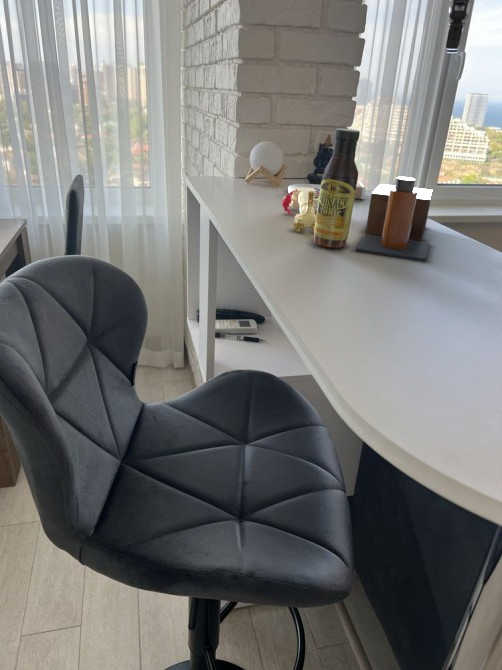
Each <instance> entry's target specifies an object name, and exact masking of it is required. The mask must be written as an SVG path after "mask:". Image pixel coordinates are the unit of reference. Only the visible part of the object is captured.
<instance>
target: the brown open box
mask: <svg viewBox="0 0 502 670" xmlns="http://www.w3.org/2000/svg"><path fill="white" fill-rule="evenodd" d="M391 188H395V185H392V184H381V183H380V184H379V185H377V186H376V188H374V190H373V191H372V192H371V194H370V200H369V207H368V213H367V220H366V227H365V234H368V235H375V236H382V233H383V227H384V221H385V215H386V209H387V204H388V198H389V192H390V189H391ZM414 190H416V191H418V194H417V200H416V205H415V210H414V215H413V220H412V226H411V231H410V236H409V240H411V241H418V242H423V237H424V232H425V229H426V225H427V221H428V217H429V211H430V206H431V202H432V197H433V191H434V190H433V189H427V188H418V187H414Z"/></svg>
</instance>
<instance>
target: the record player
mask: <svg viewBox="0 0 502 670" xmlns="http://www.w3.org/2000/svg"><path fill="white" fill-rule="evenodd" d="M295 187H307V188H314V190H317V192H316V195H315V198H319V194H318V192H319V193H320V189H321V184H315V183H295V184H290V185H288V188H287V189H288V190H287V192H288V194H290V192H292V191H293V188H295ZM365 196H366V186H365V185H364V184H363V183H362V182H361V181H357V185H356V194H355V199H354V200H364V199H365Z"/></svg>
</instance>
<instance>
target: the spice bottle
mask: <svg viewBox="0 0 502 670" xmlns="http://www.w3.org/2000/svg"><path fill="white" fill-rule="evenodd" d="M415 184H416V179H415V178H413V177H408V176H407V177H406V176H398V177H396V179H395V184H394V186H395V188H391V189H390V192H389V198H388V204H387V209H386V215H385V221H384V227H383V233H382V239H381V245H382V246H384V247H386V248H390V249H406V248H407V246H408V241H409V240H410V239H409V236H410V231H411V226H412V220H413V215H414V210H415V205H416V200H417V194H418V191H416V190H414V188H415Z"/></svg>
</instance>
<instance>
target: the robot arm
mask: <svg viewBox="0 0 502 670" xmlns="http://www.w3.org/2000/svg"><path fill="white" fill-rule="evenodd" d="M473 2H474V0H449V3H450V4H449V9H448V14H449V15H448V18H449V19H448V22H449V25H448V33H447V38H446V44H445V48H446V51H445V52H446V53H447V54H457V53H458V52H459V48H460V44H461V39H462V34H463V30H464V29H465V27H466V26H465V25H466V20H468V18H469V15H470V10H471V5H472V4H473Z"/></svg>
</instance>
